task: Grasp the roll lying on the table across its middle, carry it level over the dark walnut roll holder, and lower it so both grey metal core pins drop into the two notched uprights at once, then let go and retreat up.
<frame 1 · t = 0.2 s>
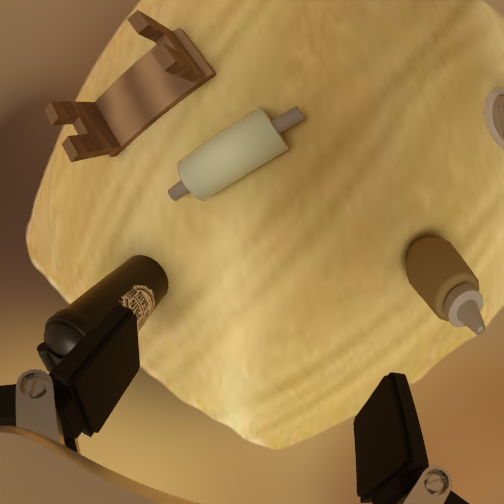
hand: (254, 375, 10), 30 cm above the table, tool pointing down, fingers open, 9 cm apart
holder: (145, 93, 35), on the table
roll: (231, 154, 34), point 3 cm above the table
water bottle: (145, 278, 47), on the table
squeeze bottle: (423, 255, 37), on the table
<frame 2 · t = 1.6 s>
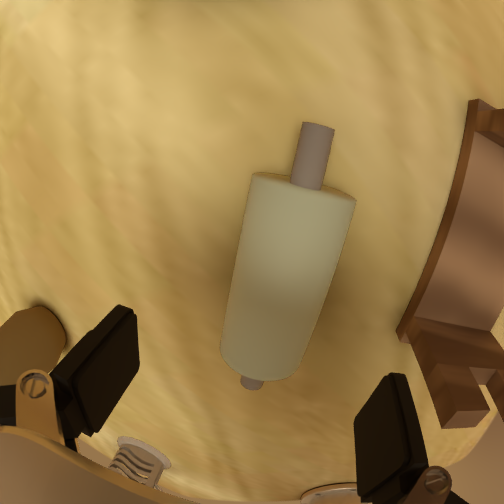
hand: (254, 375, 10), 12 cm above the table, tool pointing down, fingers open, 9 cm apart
holder: (483, 238, 17), on the table
french press: (148, 455, 37), on the table
roll: (281, 280, 18), point 3 cm above the table
squeeze bottle: (51, 325, 29), on the table
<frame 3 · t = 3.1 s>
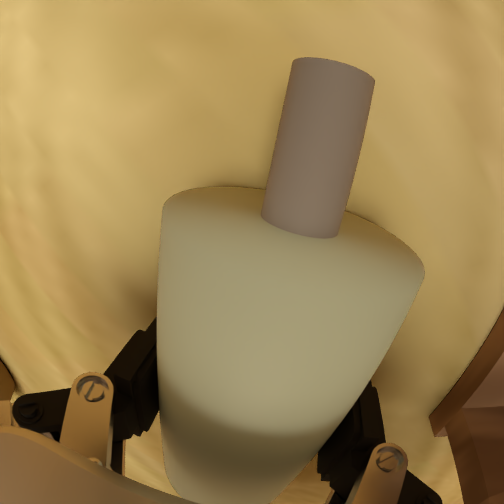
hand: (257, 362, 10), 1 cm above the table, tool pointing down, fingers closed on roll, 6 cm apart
roll: (250, 394, 9), point 3 cm above the table, touching gripper
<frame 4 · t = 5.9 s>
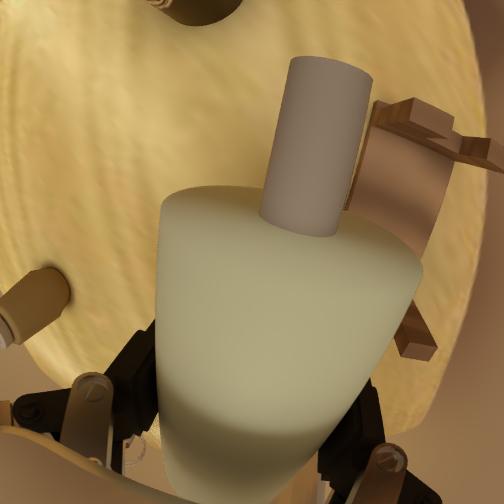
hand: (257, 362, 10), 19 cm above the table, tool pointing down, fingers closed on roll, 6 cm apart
holder: (390, 210, 26), on the table
roll: (248, 394, 9), point 21 cm above the table, touching gripper
squeeze bottle: (58, 284, 38), on the table
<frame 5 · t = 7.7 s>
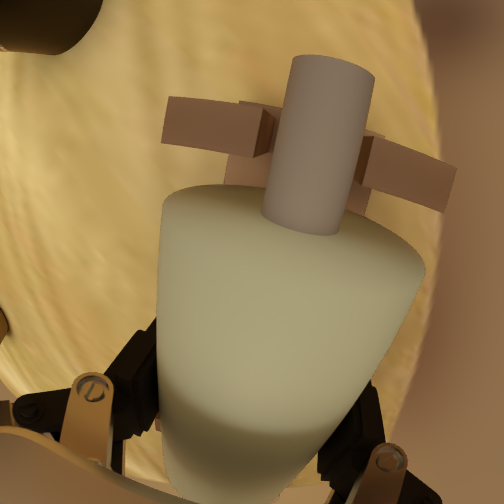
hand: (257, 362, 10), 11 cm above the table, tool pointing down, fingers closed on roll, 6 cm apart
holder: (281, 251, 21), on the table
roll: (250, 393, 9), point 13 cm above the table, touching gripper
water bottle: (69, 15, 16), on the table
when the fingers open (7 cm above the table, at t = 9.0 s): roll stays where it is, resting on holder.
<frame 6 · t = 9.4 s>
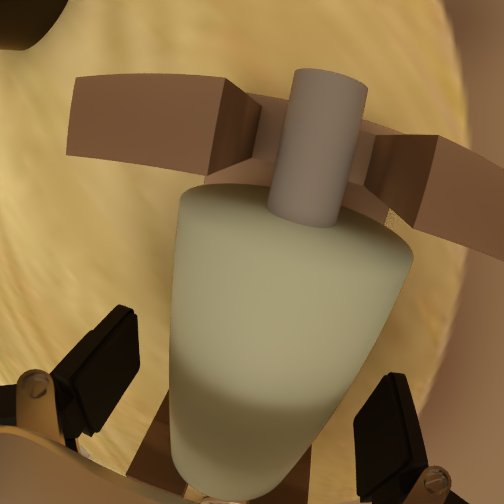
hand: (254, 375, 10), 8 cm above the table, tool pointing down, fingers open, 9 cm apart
holder: (275, 277, 17), on the table
roll: (255, 378, 10), point 8 cm above the table, touching holder
water bottle: (40, 6, 12), on the table
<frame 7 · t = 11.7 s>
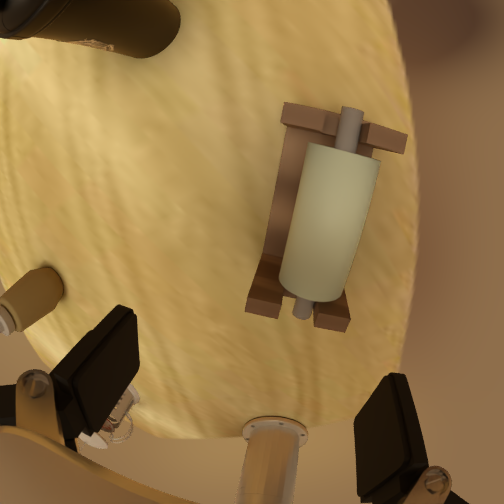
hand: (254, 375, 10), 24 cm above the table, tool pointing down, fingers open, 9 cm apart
holder: (316, 198, 31), on the table
french press: (123, 389, 52), on the table
roll: (328, 220, 24), point 8 cm above the table, tilted 44°, touching holder
water bottle: (149, 28, 26), on the table
squeeze bottle: (53, 281, 44), on the table
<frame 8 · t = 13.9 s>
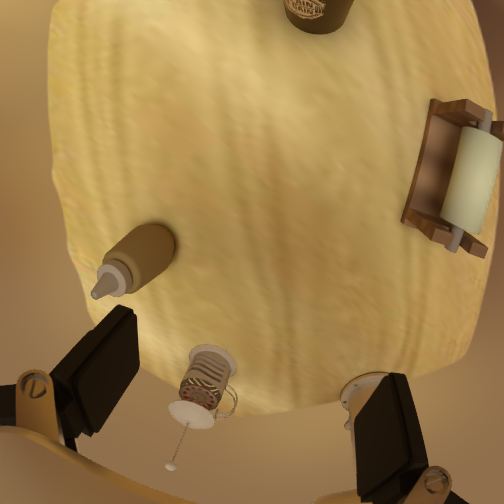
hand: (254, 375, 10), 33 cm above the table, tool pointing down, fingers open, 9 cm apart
holder: (443, 169, 35), on the table
french press: (217, 363, 55), on the table
roll: (472, 180, 27), point 8 cm above the table, tilted 44°, touching holder
water bottle: (315, 11, 29), on the table
squeeze bottle: (159, 241, 47), on the table
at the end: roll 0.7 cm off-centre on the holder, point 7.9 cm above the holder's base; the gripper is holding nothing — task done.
